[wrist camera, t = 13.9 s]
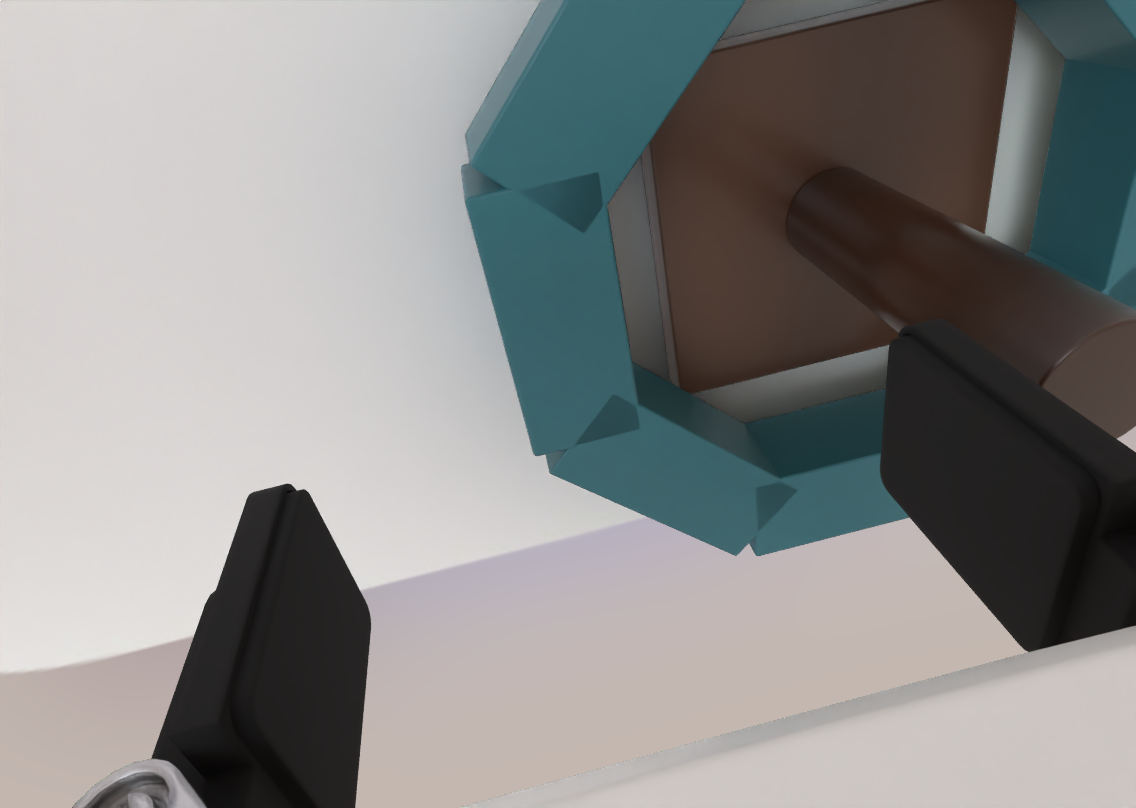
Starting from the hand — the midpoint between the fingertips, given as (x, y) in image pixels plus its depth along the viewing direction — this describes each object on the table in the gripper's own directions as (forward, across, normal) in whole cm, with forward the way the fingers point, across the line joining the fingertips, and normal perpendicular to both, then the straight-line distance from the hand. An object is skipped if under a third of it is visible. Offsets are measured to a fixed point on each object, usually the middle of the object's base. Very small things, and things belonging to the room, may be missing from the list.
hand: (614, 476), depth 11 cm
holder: (+9, -8, 0) cm, 12 cm away
